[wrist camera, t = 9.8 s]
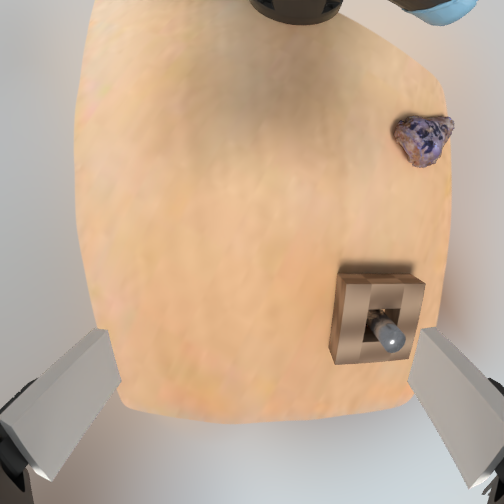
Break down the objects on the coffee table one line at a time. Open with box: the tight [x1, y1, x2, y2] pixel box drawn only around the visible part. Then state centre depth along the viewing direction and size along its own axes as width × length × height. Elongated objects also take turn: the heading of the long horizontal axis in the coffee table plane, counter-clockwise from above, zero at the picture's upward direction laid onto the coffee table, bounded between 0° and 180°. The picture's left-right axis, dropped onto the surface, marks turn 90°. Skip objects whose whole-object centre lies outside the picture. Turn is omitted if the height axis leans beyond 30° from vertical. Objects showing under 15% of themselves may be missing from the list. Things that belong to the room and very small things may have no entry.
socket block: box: [329, 273, 425, 365], centre depth 38 cm, size 12×12×5 cm
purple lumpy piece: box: [394, 116, 454, 168], centre depth 32 cm, size 12×8×6 cm, turn 114°
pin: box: [366, 309, 406, 353], centre depth 36 cm, size 3×3×10 cm
